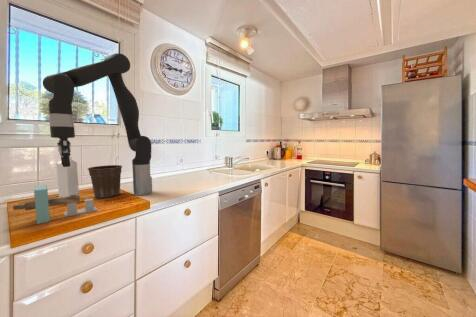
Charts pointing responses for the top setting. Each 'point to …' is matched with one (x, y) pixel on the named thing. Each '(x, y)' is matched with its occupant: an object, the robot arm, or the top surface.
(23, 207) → the needle
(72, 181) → the milk
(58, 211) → the top surface
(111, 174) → the plant pot
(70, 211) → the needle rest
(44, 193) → the teal rectangular frame
